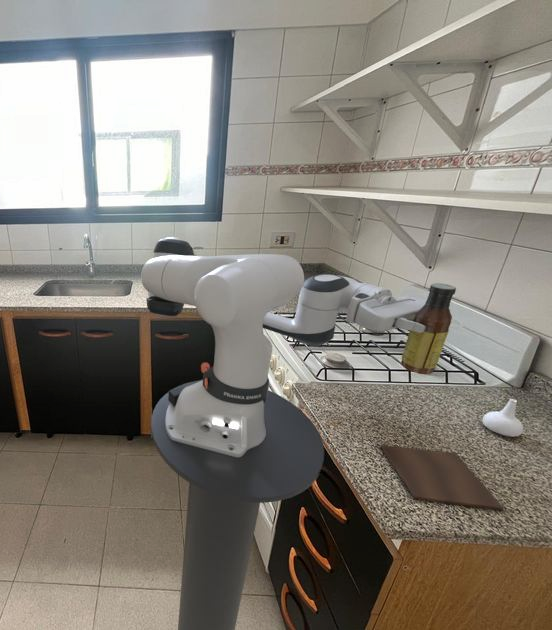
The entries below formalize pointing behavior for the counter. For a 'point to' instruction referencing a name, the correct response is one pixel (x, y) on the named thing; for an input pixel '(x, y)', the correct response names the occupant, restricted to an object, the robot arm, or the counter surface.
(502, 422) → the garlic bulb
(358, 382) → the counter surface
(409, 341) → the sauce bottle
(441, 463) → the walnut board
